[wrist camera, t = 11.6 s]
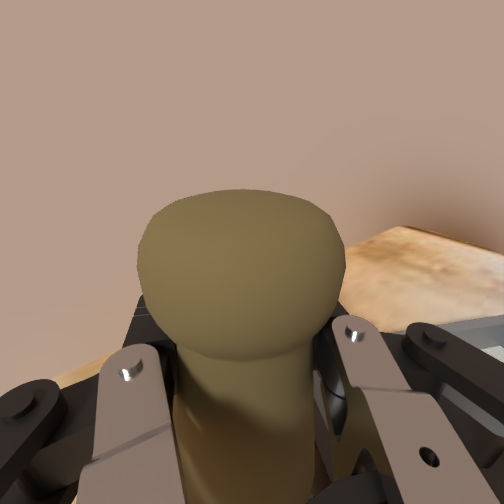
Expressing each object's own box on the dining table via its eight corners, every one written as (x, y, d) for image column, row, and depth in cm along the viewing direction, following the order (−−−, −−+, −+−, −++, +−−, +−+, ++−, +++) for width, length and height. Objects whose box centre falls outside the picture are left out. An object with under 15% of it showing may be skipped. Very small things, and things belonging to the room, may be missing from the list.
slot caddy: (497, 336, 20) (512, 313, 19) (708, 481, 12) (756, 455, 11) (159, 397, 16) (152, 371, 14) (114, 714, 7) (89, 711, 6)
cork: (211, 370, 14) (192, 173, 9) (318, 401, 12) (363, 182, 8) (139, 511, 9) (8, 222, 4) (308, 593, 7) (431, 286, 2)
